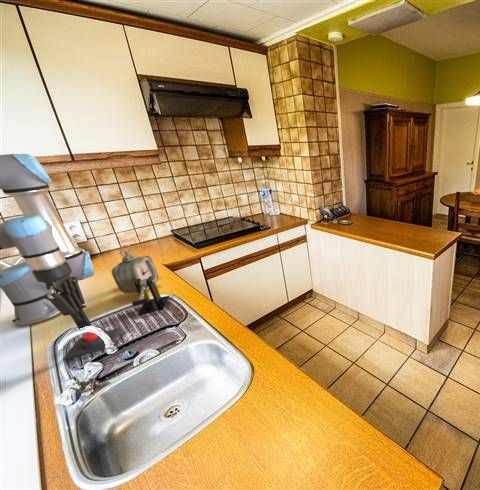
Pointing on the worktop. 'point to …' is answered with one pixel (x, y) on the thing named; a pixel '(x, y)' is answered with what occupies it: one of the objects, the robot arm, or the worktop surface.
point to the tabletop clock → (133, 271)
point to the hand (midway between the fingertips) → (85, 326)
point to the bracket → (155, 303)
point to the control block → (90, 345)
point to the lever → (142, 294)
